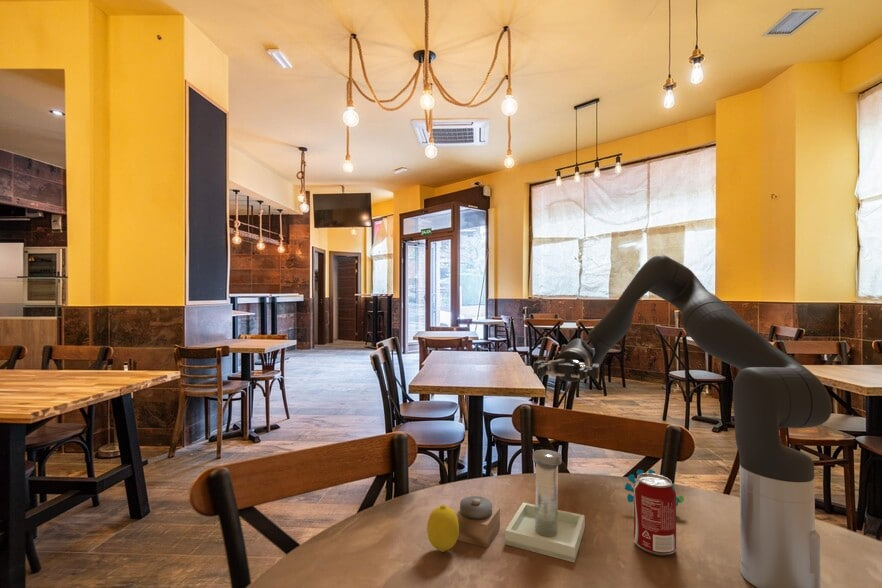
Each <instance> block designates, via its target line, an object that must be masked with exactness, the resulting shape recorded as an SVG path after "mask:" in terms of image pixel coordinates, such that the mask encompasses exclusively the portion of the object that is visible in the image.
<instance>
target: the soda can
mask: <svg viewBox="0 0 882 588" xmlns="http://www.w3.org/2000/svg"><path fill="white" fill-rule="evenodd" d="M661 475H662V474H656V473H655V474H651V473H648V472H646V473H645V472H644V473H643V474H639V475H637V480H635V481H636V483H635V484H633V489H634V493H633V496H634V501H633V541H634V543H635V545H636V546H637V547H639V548H640V549H642V550H643V551H645V552H646V553H648V554H651V555H655V556H660V557H662V556H668V555H672V554H674V553H675V552H676V550H677V507H676V496H677V493H676V489H675V490H674V489H673V487H672V486H671V485H673V483H672V480H671V479H670V478H668V477H666V476H665V475H664V476H665V477H664V476H661Z"/></svg>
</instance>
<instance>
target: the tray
mask: <svg viewBox="0 0 882 588" xmlns="http://www.w3.org/2000/svg"><path fill="white" fill-rule="evenodd" d="M585 523H586V517H585V515H584V514H580V513H574V512H571V511H565V510H561V509H558V519H557V535H556V536H554V537H543V536H540V535H539V534H537V533H536V531H535V504H534V503H533V504H532V503H529V502H522V504H521V505H520V507H519V508H518V510H517V511H516V513H515V514H514V516H513V517H512V519H511V521H510V522H509V524H508V525H507V527H506V529H505V531H504V537H505V538H504V544H505V546H510V547H513V548H518V549H522V550H525V551H529V552H533V553H537V554H541V555H545V556H547V557H552V558H555V559H560V560H563V561H567V562H571V563H576V559H577V556H578V552H579V549H580V546H581V542H582V538H583V536H584V531H585Z"/></svg>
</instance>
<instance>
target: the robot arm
mask: <svg viewBox="0 0 882 588" xmlns="http://www.w3.org/2000/svg"><path fill="white" fill-rule="evenodd" d="M647 293H652V294H653V295H655V296H657V297H659V298H661V299H663V300H664V301H666V302H668V303H670V304H672V306H673V307H676V309H677V310H678V311H679V312H681V317H680V319H681V325H682V327H683V329H684V330H685V332H686V334H687V335H688V336H689V337H690V338H691V340H693V342H694V343H695V344H696V345H697V347H699V349H701V350H702V351H704V352H705V353H707V354H708V355H710V356H712V357H713V358H715V359H718V360H720V361H721V362H724V363H726V364H728V365H730V366H732V367H734V368H736V369H739V370H740V371H739V372H737V374H736V375H735V378H734V380H733V381H734V382H733V387H732V405H733V406H732V407H733V417H734V436H735V444H736V447H737V451H738V454H739V527H740V528H739V534H740V535H739V541H740V544H739V548H740V550H739V551H740V555H739V561H740V564H739V565H740V573H741V575H742V577H743V578H744V579H745V580H746V581H747V582H748V583H749V584H751V585H753V586H754V587H755V588H822V587H821V586H822V585H821V584H822V583H821V581H822V580H821V579H822V577H821V575H822V574H821V567H822V566H821V536H820V534H819V532H818V531H817V530H816V521H815V520H816V517H815V516H816V515H815V513H816V509H815V507H816V506H815V504H816V502H815V497H816V496H815V463H814V461H813V459H812V458H811V457H810V456H809V455H807V454H806V453H805V452H802V451H800V450H798V449H795V448H793V447H792V448H791V447H789V446H786V445H784V444H782V441H781V437H780V436H781V435H780V429H782V428H783V429H787V428H788V429H804V428H805V429H807V428H815V427H818V426H821V425H823V424H824V423H826V422H828V420H829V419H830V417H831V415H832V409H833V405H832V399H831V396H830V395H829V392H828V390H827V388H826V387H825V385H824V384H823V383H822V381H821V380H820V379H819V378H818V377H817V376H816V375H815V374H814V373H813V372H811V370H809V369H808V368H806V367H805V366H804V365H803V364H801V363H800V362H798V361H796V360H795V359H794V358H792V357H791V356H789V355H787V353H785V352H783V351H781V350H780V349H779V348H778V347H776V346H775V345H774V344H773V343H771V342H770V341H768V339H766V338H765V337H764V336H763V335H761V334H760V333H759V332H758V331H757V330H756V329H754V328H753V327H752V326H751V325H750V324H749V323H747V322H746V321H745V320H744V319H743V318H742V317H741V316H740V315H739V313H737V312H736V311H735V309H733V308H732V307H730V306H729V304H727V303H725V302H724V300H723V301H722V299H720V298H719V297H718V296H716V295H715V294H713V293H711V292H710V291H709V290H707V288H706V287H705V286H704V284H702V282H701V280H699V278H698V277H697V276H696V275H695V274H694V272H693V271H692V270H691V269H689V267H687V266H685V265H683V264H682V263H680V262H678V261H676V260H675V259H673V258H671V257H669V256H667V255H665V254H658V255H656V254H655V255H654V256H651V258H649V260H647V261H646V262H645V263H644V264H643V265H642V266H641V268H639V270H638V272H637V273H636V274H635V276H633V278H632V280H631V281H630V283H629V284H628V285H627V287H625V289H624V291H623V292H622V293H621V295H620V296H619V298H618V299H617V301H616V302H615V303H614V304H613V306H612V307H611V309H610V310H609V311H608V312H607V313H606V314H605V315H604V316H603V317H602V318H601V319H600V320H599V321H598V322H597V323H596V324H595V325H594V326H593V328H591V329H590V330H589V332H588V334H587V337H588V340H589V342H590V343H591V345H592V346H590V345H589V344H588V343H587V342H586V341H584V340H583V339H581V338H574V339H572V340H570V341H569V342H568V343H567V344H566V345H565V346H564V349H563V351H562V352H560V353H559V354H558V355H557V356H556V358H555V359H554V360H548V361H547V362H546V360H544V359H540V360H537V361H535V362H533V374H535V375H538V377H541V378H543V377H545V376H546V375H547V376H551V377H559V378H560V379H562V380H563V381H565V382H569V383H572V382H577V381H578V382H579V381H584V380H585V379H589V378H590V377H592V379H594V380H596V379H597V380H598V378H599V376H600V367H601V365H602V364H603V360H604V359H605V358H606V355H607V353H609V351H610V350H611V349H612V348H613V347H614V346H615V345H616V344H617V343H618V342H619V341H620V340H622V338H624V336H626V335H627V333H628V332H629V330H630V328H631V325H632V322H633V317H634V313H635V309H636V307H637V304H638V303H639V301H640V300H641V298H642V297H644V295H646V294H647Z"/></svg>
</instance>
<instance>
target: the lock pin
mask: <svg viewBox="0 0 882 588" xmlns="http://www.w3.org/2000/svg"><path fill="white" fill-rule="evenodd" d="M562 457H563V456H562V454H561V453H560V452H558V451H554V450H550V449H536V450H534V451H533V452H532V461H533V463H535V504H534V505H535V531H536V533H537V534H539V535H540V536H543V537H554V536H556V535H557V519H558V510H559V509H558V506H559V505H558V503H559V500H558V499H559V498H558V497H559V493H558V491H559V490H558V489H559V466H560V465H561V464H562V460H563V459H562Z"/></svg>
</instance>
